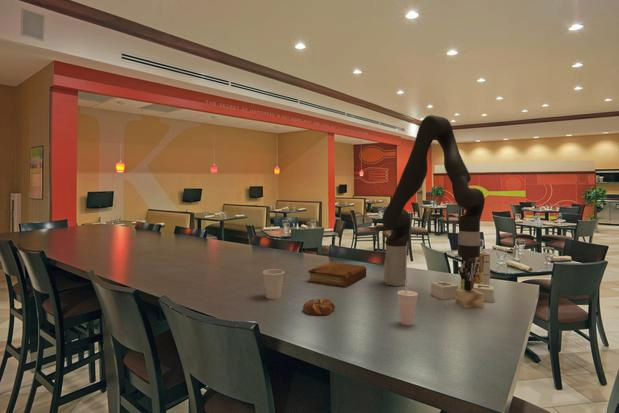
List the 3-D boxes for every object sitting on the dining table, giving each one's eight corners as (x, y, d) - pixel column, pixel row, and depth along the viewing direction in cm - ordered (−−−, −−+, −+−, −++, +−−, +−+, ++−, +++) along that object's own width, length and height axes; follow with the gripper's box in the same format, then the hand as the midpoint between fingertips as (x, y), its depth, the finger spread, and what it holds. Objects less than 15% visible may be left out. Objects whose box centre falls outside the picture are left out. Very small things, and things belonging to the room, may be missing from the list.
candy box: (474, 287, 164) (476, 252, 164) (483, 289, 161) (484, 253, 160) (459, 289, 161) (461, 253, 160) (468, 292, 157) (469, 255, 156)
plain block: (465, 308, 137) (465, 294, 136) (455, 302, 143) (455, 289, 143) (483, 307, 137) (484, 294, 137) (473, 301, 144) (473, 288, 144)
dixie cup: (267, 301, 143) (267, 274, 142) (259, 295, 150) (259, 270, 149) (287, 298, 146) (287, 272, 146) (279, 292, 154) (279, 268, 153)
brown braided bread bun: (317, 304, 141) (317, 294, 141) (341, 310, 134) (342, 300, 134) (295, 312, 132) (296, 301, 131) (321, 319, 125) (321, 307, 124)
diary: (346, 289, 162) (346, 275, 162) (308, 283, 172) (308, 270, 171) (366, 277, 182) (366, 265, 182) (331, 272, 192) (331, 261, 191)
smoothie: (394, 319, 124) (394, 277, 123) (413, 319, 124) (414, 276, 124) (400, 327, 117) (401, 282, 117) (420, 326, 118) (421, 281, 117)
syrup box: (490, 286, 166) (491, 253, 165) (475, 285, 167) (476, 252, 167) (486, 283, 172) (487, 251, 171) (472, 282, 173) (473, 250, 172)
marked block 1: (442, 300, 146) (442, 286, 146) (430, 295, 153) (431, 282, 153) (457, 298, 149) (457, 285, 148) (445, 293, 155) (445, 281, 155)
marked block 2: (472, 300, 146) (473, 287, 146) (473, 295, 152) (474, 282, 152) (493, 303, 143) (493, 289, 143) (493, 298, 149) (493, 285, 149)
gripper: (471, 246, 132) (470, 295, 133) (486, 242, 141) (485, 289, 142) (450, 244, 137) (449, 291, 138) (466, 240, 147) (465, 285, 148)
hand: (468, 290), depth 140 cm, fingers closed
